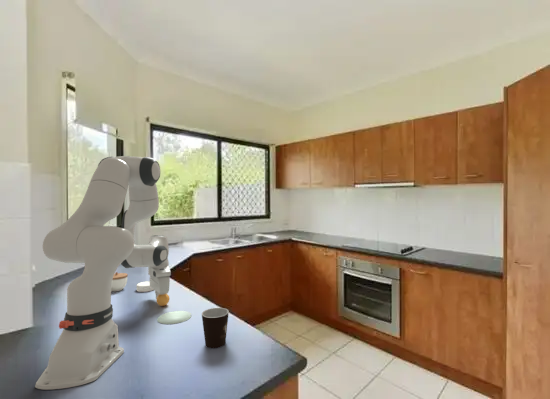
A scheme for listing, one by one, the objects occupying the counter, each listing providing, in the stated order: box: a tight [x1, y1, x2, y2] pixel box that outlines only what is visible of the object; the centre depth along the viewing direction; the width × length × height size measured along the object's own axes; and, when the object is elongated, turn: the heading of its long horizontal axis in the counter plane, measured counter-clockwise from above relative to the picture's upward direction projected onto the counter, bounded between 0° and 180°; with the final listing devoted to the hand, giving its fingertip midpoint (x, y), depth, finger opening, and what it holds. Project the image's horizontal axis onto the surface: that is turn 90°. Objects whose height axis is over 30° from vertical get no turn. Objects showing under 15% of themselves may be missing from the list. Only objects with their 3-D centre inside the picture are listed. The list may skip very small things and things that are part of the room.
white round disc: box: [136, 280, 155, 293], centre depth 153 cm, size 10×10×4 cm
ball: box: [155, 293, 170, 307], centre depth 127 cm, size 6×6×6 cm
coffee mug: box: [201, 307, 230, 349], centre depth 93 cm, size 12×9×10 cm
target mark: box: [156, 310, 192, 325], centre depth 114 cm, size 13×13×1 cm
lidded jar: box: [111, 271, 128, 292], centre depth 153 cm, size 11×11×9 cm
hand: (158, 299), depth 132 cm, fingers closed
